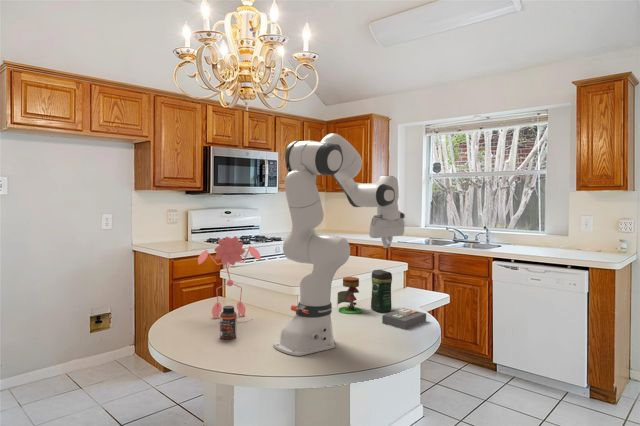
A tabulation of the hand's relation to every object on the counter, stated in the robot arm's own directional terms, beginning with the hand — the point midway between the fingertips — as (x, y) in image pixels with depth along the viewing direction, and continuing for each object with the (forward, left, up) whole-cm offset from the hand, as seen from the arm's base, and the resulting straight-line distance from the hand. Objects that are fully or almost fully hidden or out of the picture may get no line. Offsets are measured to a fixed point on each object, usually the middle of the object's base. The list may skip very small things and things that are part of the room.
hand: (386, 247), depth 180 cm
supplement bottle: (-60, +27, -31) cm, 73 cm away
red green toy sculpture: (+1, +20, -31) cm, 37 cm away
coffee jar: (+12, +11, -31) cm, 35 cm away
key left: (-1, -7, -30) cm, 31 cm away
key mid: (+4, -7, -29) cm, 30 cm away
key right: (+9, -7, -30) cm, 32 cm away
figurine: (-47, +46, -31) cm, 73 cm away
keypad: (+4, -7, -31) cm, 32 cm away
